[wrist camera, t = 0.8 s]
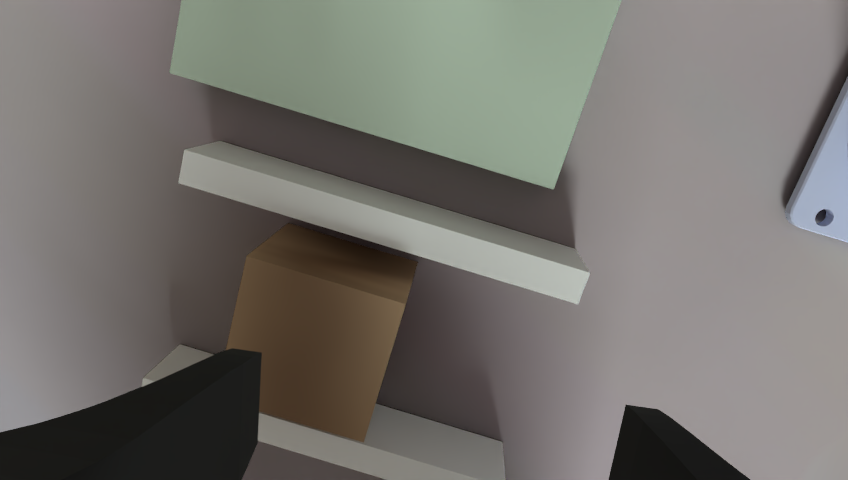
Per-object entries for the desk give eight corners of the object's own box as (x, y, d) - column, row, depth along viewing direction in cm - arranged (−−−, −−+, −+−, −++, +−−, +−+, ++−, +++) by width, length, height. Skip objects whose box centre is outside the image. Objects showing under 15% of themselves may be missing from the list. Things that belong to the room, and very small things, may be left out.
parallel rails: (575, 248, 19) (589, 272, 17) (493, 464, 22) (496, 513, 19) (220, 140, 19) (184, 149, 17) (175, 368, 22) (138, 404, 19)
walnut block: (418, 261, 20) (405, 304, 16) (383, 377, 21) (363, 442, 18) (289, 222, 20) (246, 255, 16) (261, 340, 21) (215, 397, 17)
